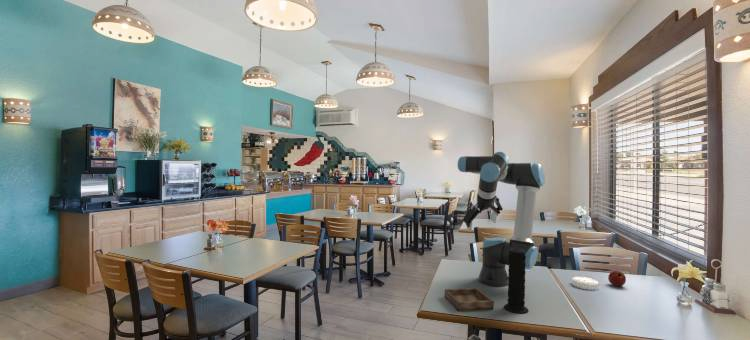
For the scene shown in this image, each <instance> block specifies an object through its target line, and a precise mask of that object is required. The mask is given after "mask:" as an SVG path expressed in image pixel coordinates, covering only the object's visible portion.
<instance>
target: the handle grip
mask: <svg viewBox="0 0 750 340" xmlns="http://www.w3.org/2000/svg"><path fill="white" fill-rule="evenodd" d="M525 253H526V251H525V250H522V249H518V248H515V249H509V265H507V266H508V269H507V270H508V273H507V275H508V282H509V283H508V285H507V303H505V304H504V305H503V308H504V310H505V311H507V312H509V313H511V314H512V313H513V314H517V315H524V314H528V313H529V311H530V310H529V309H528V307H526V306H525V304H526V301H525V297H526V290H525V289H526V278H525V277H526V270H527V269H526V268H525V266H526V264H525V262H526V261H525V259H526V255H525Z"/></svg>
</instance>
